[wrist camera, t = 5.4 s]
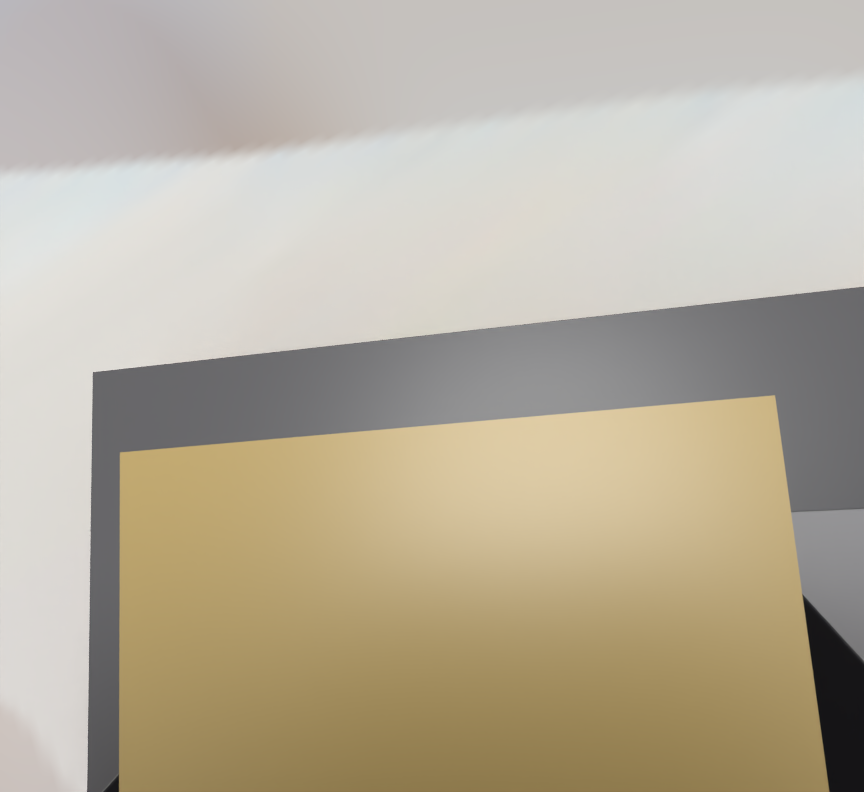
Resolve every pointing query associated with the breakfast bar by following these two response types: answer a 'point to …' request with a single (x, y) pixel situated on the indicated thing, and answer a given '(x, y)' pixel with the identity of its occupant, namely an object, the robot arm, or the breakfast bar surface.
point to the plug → (470, 609)
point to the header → (511, 398)
